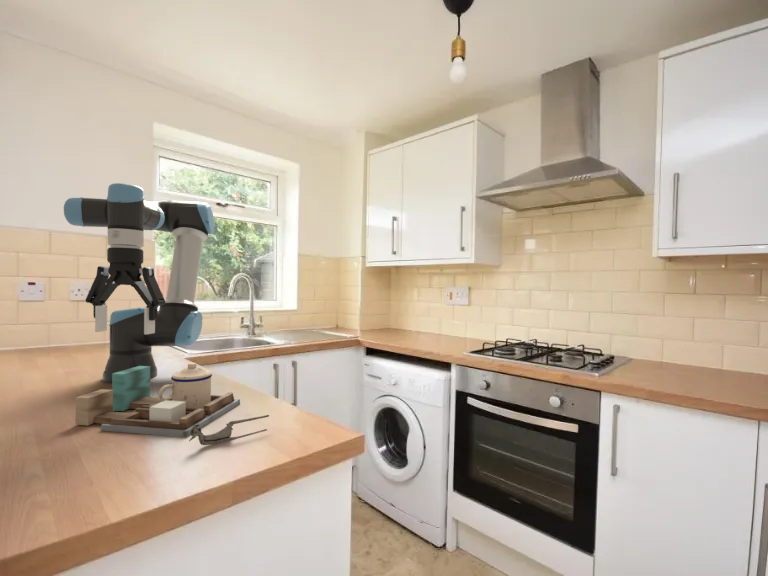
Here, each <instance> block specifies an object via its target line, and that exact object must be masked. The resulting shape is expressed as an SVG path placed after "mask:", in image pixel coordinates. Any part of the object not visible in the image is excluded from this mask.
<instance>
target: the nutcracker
mask: <svg viewBox="0 0 768 576" xmlns="http://www.w3.org/2000/svg"><path fill="white" fill-rule="evenodd" d="M269 417H270V415H269V414H266V415H262V416H261V415H260V416H256V417H250V418H245V419H239V420H230V421H229V422H228V423H225V425H226V426H225V427H224V428H222V429H220V430H219V431H217V432H215V433H211V434H206V435H205V434H204V433H203V432H202V428H199V429H197V427H198V426H199V424H198V425H194V426H193V427H192V429H191V431H190V433H191V435H190V436H191V437H190V439H189V440H188V441H189V442H191V441H193V440H194V439H195V438H197V437H198V441H199V444H200V445H201V446H210V445H217V444H221V443H225V442H229V441H233V440H237V439H240V438H245V437H246V436H247V437H248V436H251V435H254V434H258V433H262V432H265V431H268V429H267V428H265V429H261V430H258V431H257V430H256V431H254V432H250V433H247V434H242V435H239V436H232V432H233V430H234V428H233V426H234V425H236V424H241V423H246V422H250V421H255V420H259V419H263V418H264V419H265V418H269Z"/></svg>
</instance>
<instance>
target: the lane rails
mask: <svg viewBox="0 0 768 576" xmlns="http://www.w3.org/2000/svg"><path fill="white" fill-rule="evenodd" d="M170 396H172V394H170V395H169V397H170ZM239 405H241V400H240V398H239V399H238V398H234V401H233V402H231V403H230V404H228V405H226V406H225V407H223V408H221V409H220V410H218V411H216V412H215V413H213V414H211V415H210V416H206V415H205V418H204V419H203V420H201V421H199V422H198V423H196V424H194V425H198V424H199V426H198V427H197V429H199V428H200V429H202V428H204V427H205V426H207V425H208V424H210V423H211V422H213V421H215V420H216V419H218V418H220V417H221V416H223V415H224V414H226V413H227V412H229V411H231V410H232V409H234V408H236V407H237V406H239ZM235 406H236V407H235ZM133 412H135V410H132V413H133ZM194 425H193V426H194ZM193 426H191V427H189V428H188V429H186V430H177V429H164V428H151V427H138V426H125V425H112V424H100V431H101V432H102V431H105V432H117V433H130V434H141V435H155V436H165V437H166V436H168V437H180V438H181V437H184V438H187V437H189V436H192V435H191V433H190V431H191V429H192V427H193Z"/></svg>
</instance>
